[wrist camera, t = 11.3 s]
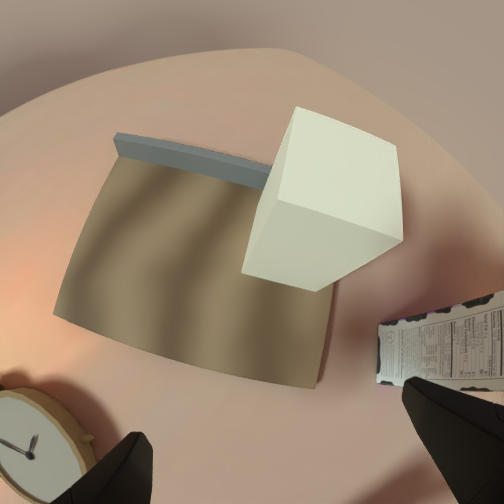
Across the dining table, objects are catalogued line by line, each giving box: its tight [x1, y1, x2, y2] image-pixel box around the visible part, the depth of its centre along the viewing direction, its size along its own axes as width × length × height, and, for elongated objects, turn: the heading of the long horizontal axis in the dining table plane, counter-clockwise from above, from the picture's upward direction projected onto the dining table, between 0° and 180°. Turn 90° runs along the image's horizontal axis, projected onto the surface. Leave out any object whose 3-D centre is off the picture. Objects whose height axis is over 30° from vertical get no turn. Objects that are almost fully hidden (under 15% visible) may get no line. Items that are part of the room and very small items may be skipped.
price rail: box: [113, 132, 272, 191], centre depth 23 cm, size 21×1×4 cm, turn 77°
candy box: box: [376, 290, 504, 392], centre depth 15 cm, size 14×6×16 cm, turn 87°
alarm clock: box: [0, 383, 97, 504], centre depth 12 cm, size 11×5×15 cm
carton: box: [241, 106, 403, 292], centre depth 17 cm, size 6×6×11 cm
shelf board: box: [53, 156, 334, 389], centre depth 21 cm, size 21×15×1 cm
